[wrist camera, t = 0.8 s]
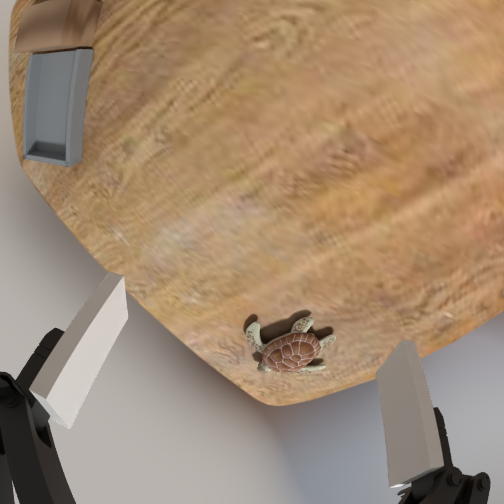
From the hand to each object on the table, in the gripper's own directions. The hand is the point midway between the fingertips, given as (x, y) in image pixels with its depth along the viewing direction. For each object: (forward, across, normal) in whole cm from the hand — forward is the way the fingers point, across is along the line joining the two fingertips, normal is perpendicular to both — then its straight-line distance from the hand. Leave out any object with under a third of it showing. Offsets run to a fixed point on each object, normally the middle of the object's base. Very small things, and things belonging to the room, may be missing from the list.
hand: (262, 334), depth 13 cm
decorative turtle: (+27, +10, -31) cm, 42 cm away
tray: (+27, -34, +4) cm, 44 cm away
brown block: (+27, -34, +16) cm, 46 cm away
